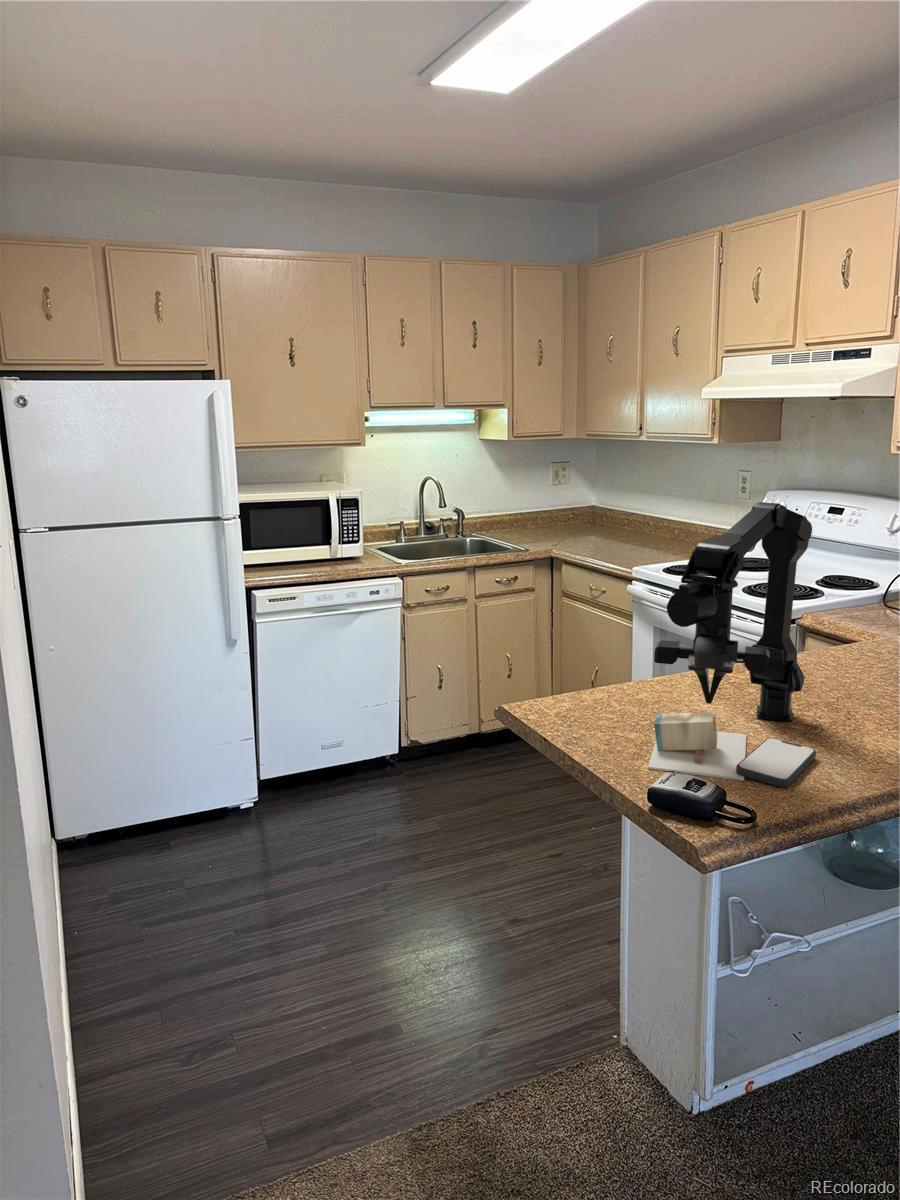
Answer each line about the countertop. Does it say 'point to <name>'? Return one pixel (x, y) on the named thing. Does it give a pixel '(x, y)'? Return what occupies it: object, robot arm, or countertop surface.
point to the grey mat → (704, 758)
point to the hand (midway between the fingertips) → (708, 702)
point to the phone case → (776, 762)
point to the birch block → (686, 731)
